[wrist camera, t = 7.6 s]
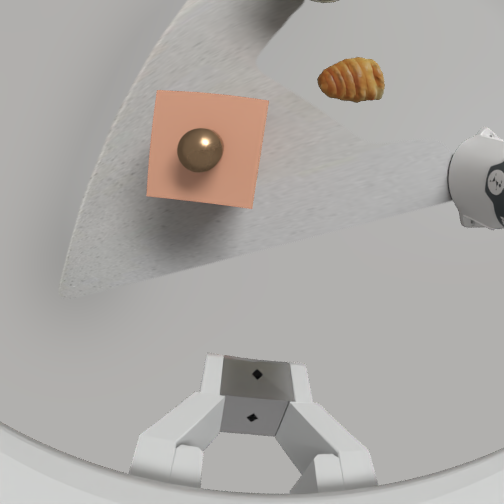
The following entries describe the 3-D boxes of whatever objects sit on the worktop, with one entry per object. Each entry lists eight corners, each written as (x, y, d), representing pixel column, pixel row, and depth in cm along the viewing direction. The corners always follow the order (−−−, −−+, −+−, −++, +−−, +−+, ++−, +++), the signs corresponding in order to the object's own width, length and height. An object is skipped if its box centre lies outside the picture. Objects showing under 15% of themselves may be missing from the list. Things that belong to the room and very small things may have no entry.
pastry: (323, 108, 39) (329, 106, 36) (310, 64, 37) (316, 59, 33) (381, 99, 38) (392, 97, 35) (370, 57, 36) (380, 52, 32)
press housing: (261, 110, 39) (269, 100, 24) (250, 179, 43) (252, 208, 28) (189, 102, 38) (157, 90, 24) (181, 171, 42) (146, 196, 27)
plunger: (252, 115, 34) (255, 108, 22) (243, 177, 37) (241, 203, 25) (188, 108, 33) (158, 99, 21) (180, 170, 36) (149, 192, 24)
